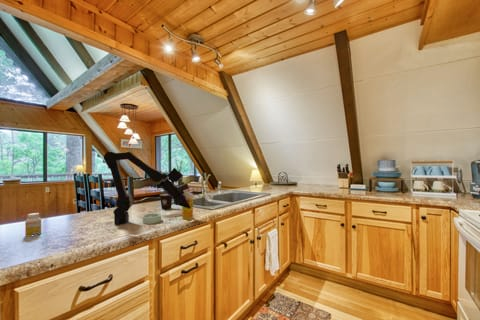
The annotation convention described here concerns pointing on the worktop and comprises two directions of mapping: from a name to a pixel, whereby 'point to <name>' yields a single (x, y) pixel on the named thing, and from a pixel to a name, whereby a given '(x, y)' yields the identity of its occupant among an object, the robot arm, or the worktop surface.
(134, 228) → the worktop surface
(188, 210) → the yellow bottle
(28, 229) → the supplement bottle
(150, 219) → the bowl
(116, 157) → the robot arm
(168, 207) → the coffee mug
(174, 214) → the trivet
